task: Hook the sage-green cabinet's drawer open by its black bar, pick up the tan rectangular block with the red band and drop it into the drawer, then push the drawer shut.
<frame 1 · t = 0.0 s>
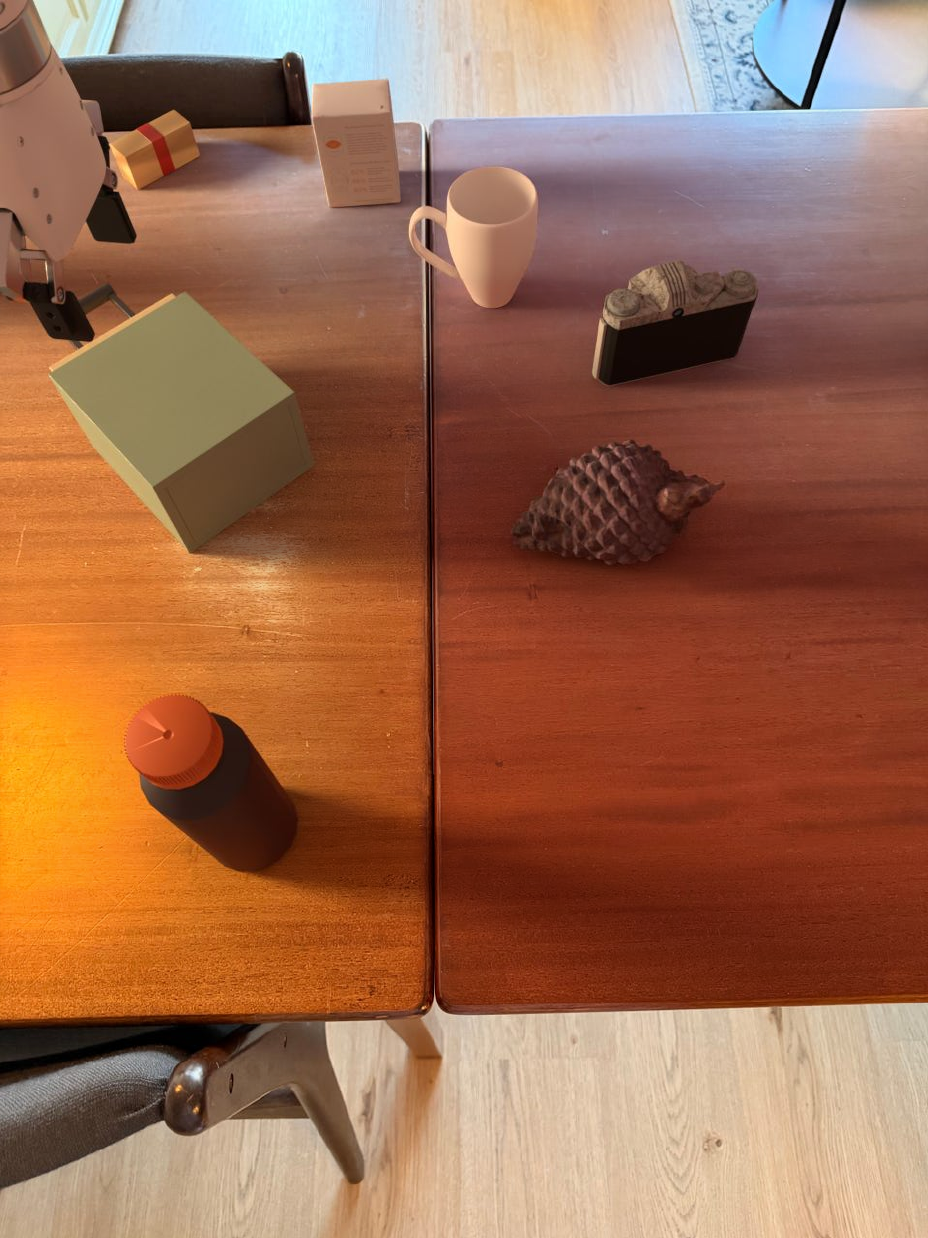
hand: (95, 286, 65), 20 cm above the table, tool pointing down, fingers open, 9 cm apart
tan rectangular block: (161, 165, 102), on the table
cabinet: (203, 456, 83), on the table
bottle: (253, 828, 67), on the table
pine cone: (606, 533, 78), on the table
drawer: (150, 383, 81), point 5 cm above the table, slide at 0.5 cm
camera: (659, 350, 88), on the table
small box: (364, 191, 100), on the table
mug: (473, 294, 92), on the table
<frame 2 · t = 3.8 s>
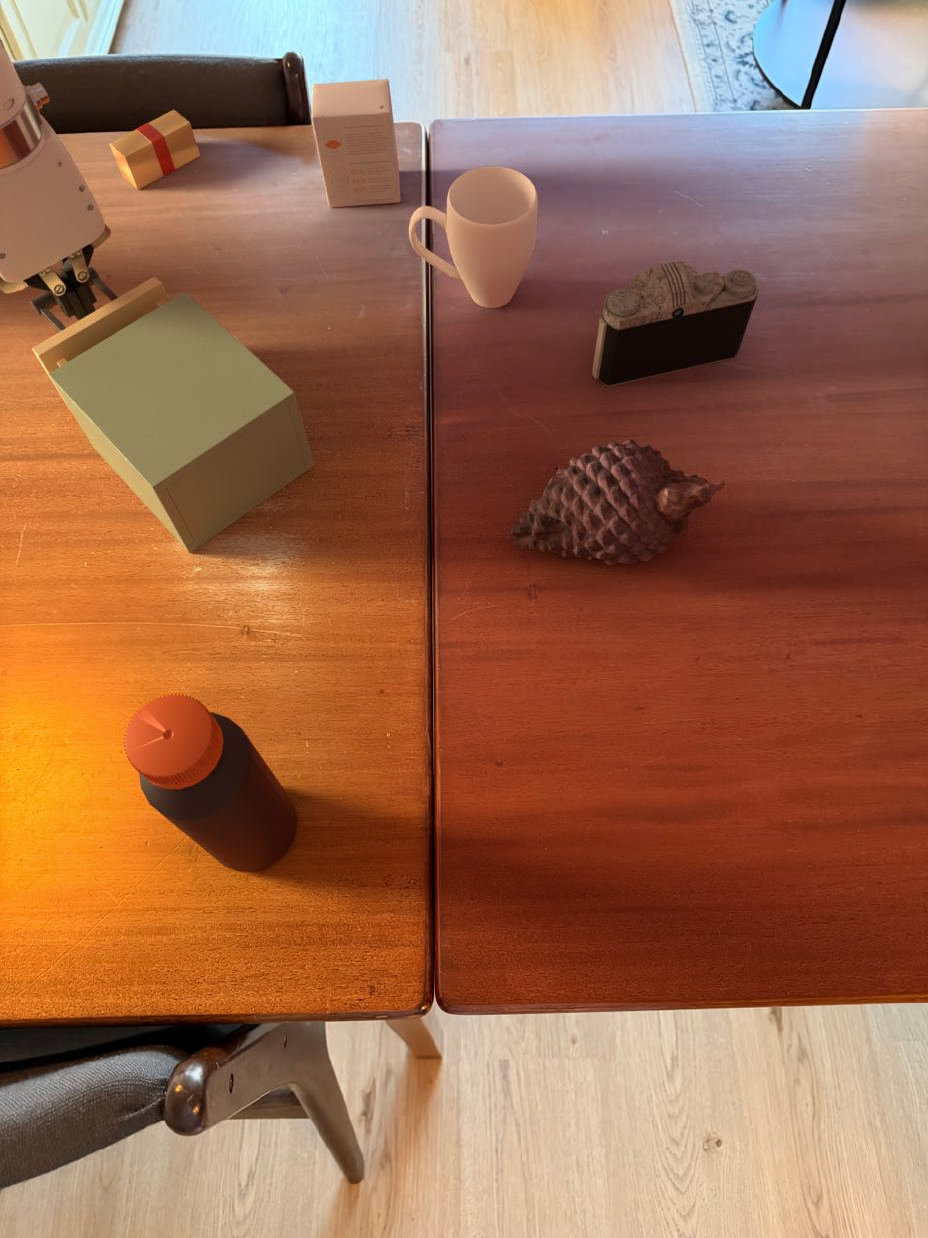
hand: (83, 313, 84), 6 cm above the table, tool pointing down, fingers closed
drawer: (132, 366, 82), point 5 cm above the table, slide at 3.4 cm, touching gripper
everything else where it was.
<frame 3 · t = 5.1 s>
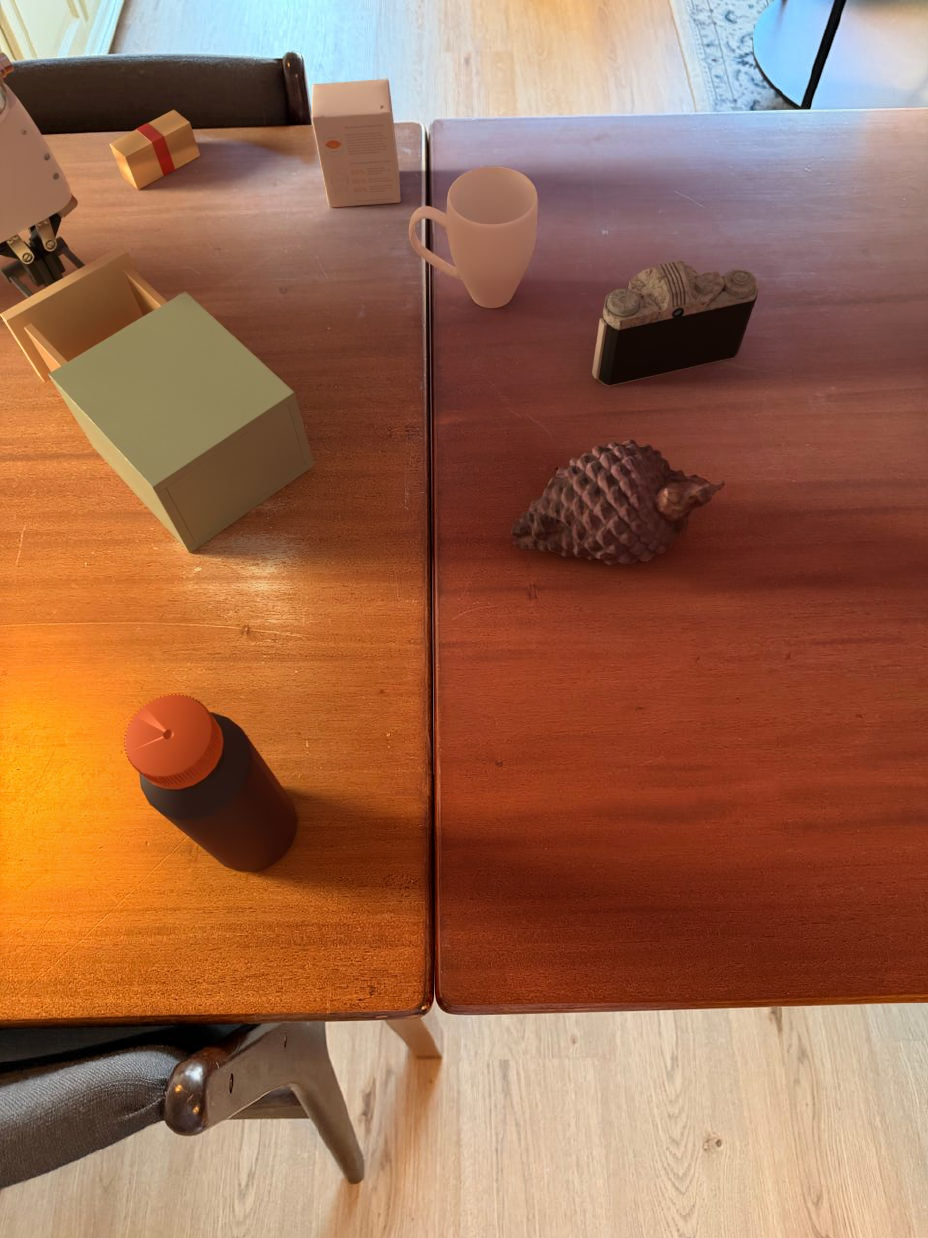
hand: (53, 283, 86), 6 cm above the table, tool pointing down, fingers closed
drawer: (99, 332, 84), point 5 cm above the table, slide at 9.0 cm, touching gripper
everything else where it was.
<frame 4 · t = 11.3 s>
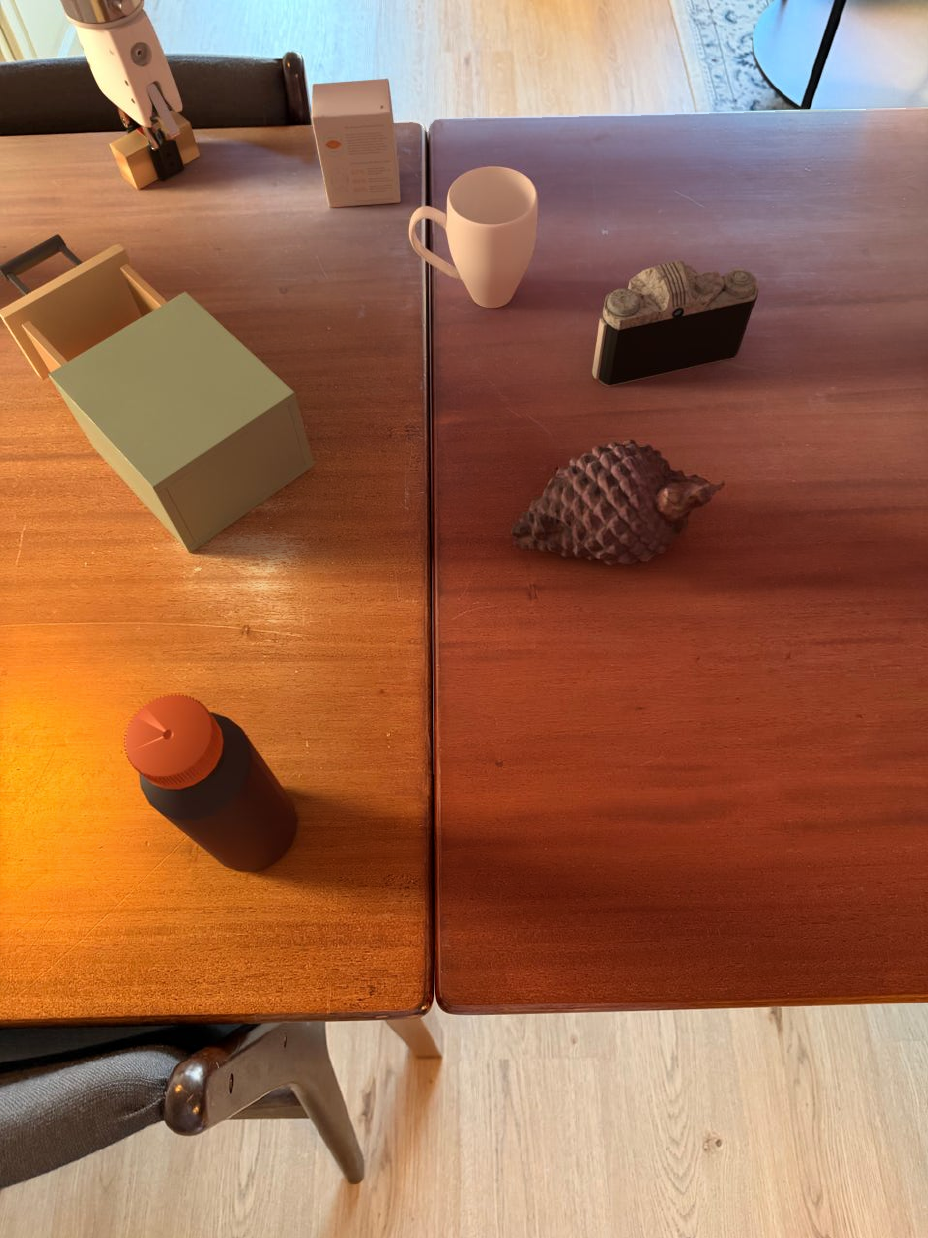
hand: (161, 164, 102), 0 cm above the table, tool pointing down, fingers closed on tan rectangular block, 3 cm apart
tan rectangular block: (161, 165, 102), on the table, touching gripper
drawer: (97, 330, 84), point 5 cm above the table, slide at 9.4 cm
everything else where it was.
when the fingers open (8 cm above the table, at t = 17.8 s): tan rectangular block drops 6 cm, resting on drawer.
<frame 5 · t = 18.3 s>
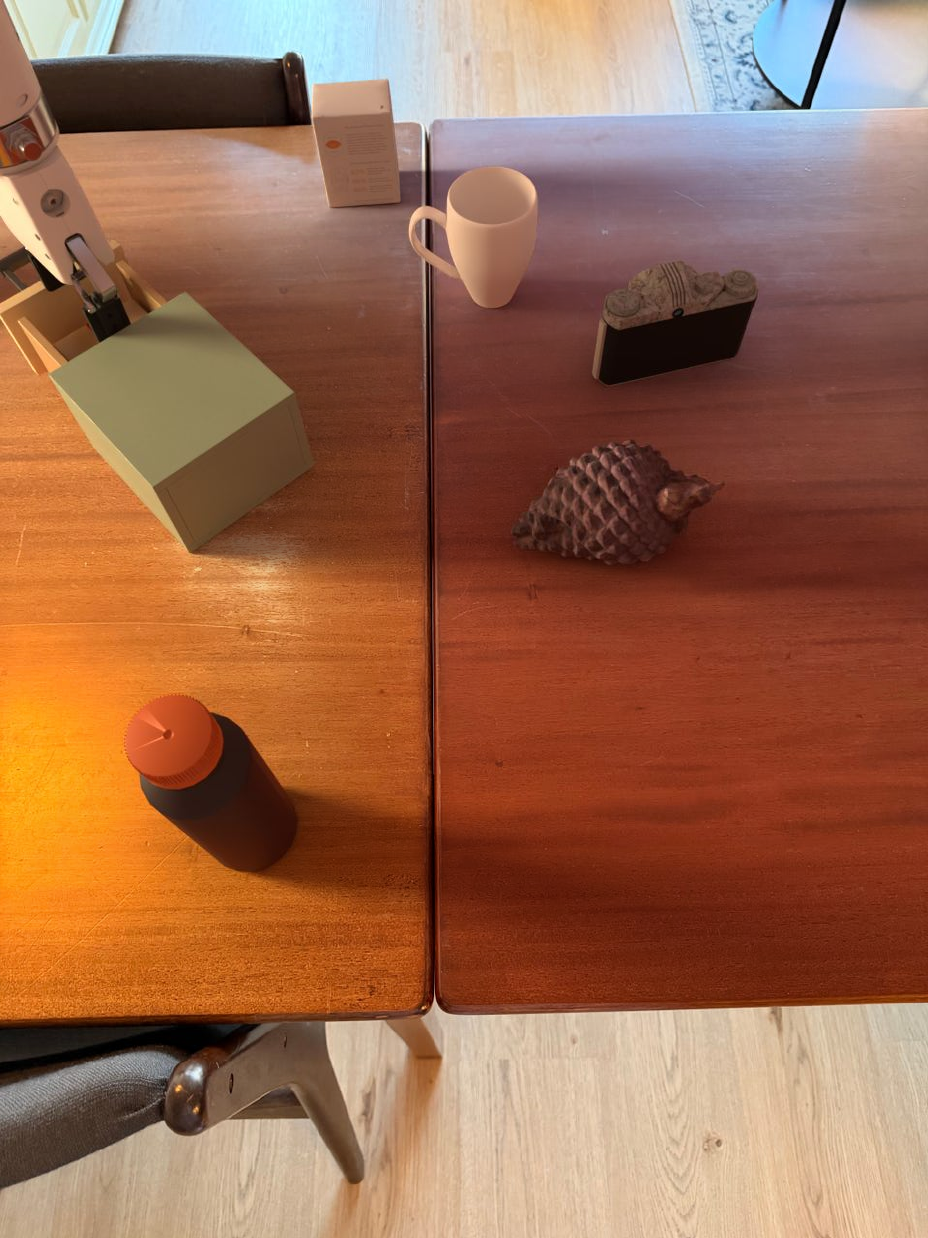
hand: (88, 307, 80), 9 cm above the table, tool pointing down, fingers open, 8 cm apart
tan rectangular block: (118, 360, 86), point 2 cm above the table, touching drawer
drawer: (93, 326, 84), point 5 cm above the table, slide at 10.1 cm, touching tan rectangular block, gripper
everything else where it was.
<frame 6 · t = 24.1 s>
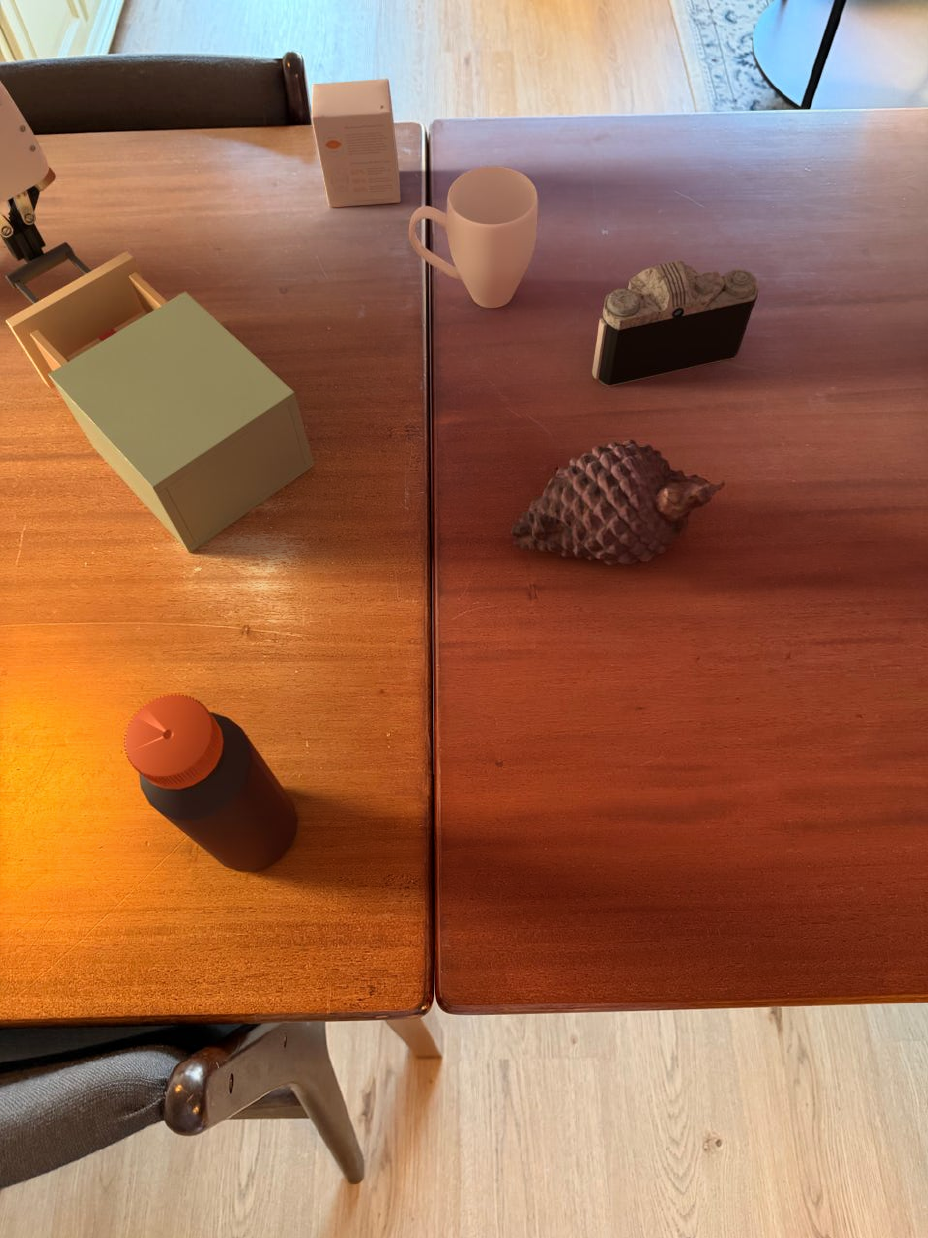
hand: (33, 257, 87), 6 cm above the table, tool pointing down, fingers closed
tan rectangular block: (130, 373, 85), point 2 cm above the table, touching drawer
drawer: (105, 338, 83), point 5 cm above the table, slide at 7.9 cm, touching tan rectangular block
everything else where it was.
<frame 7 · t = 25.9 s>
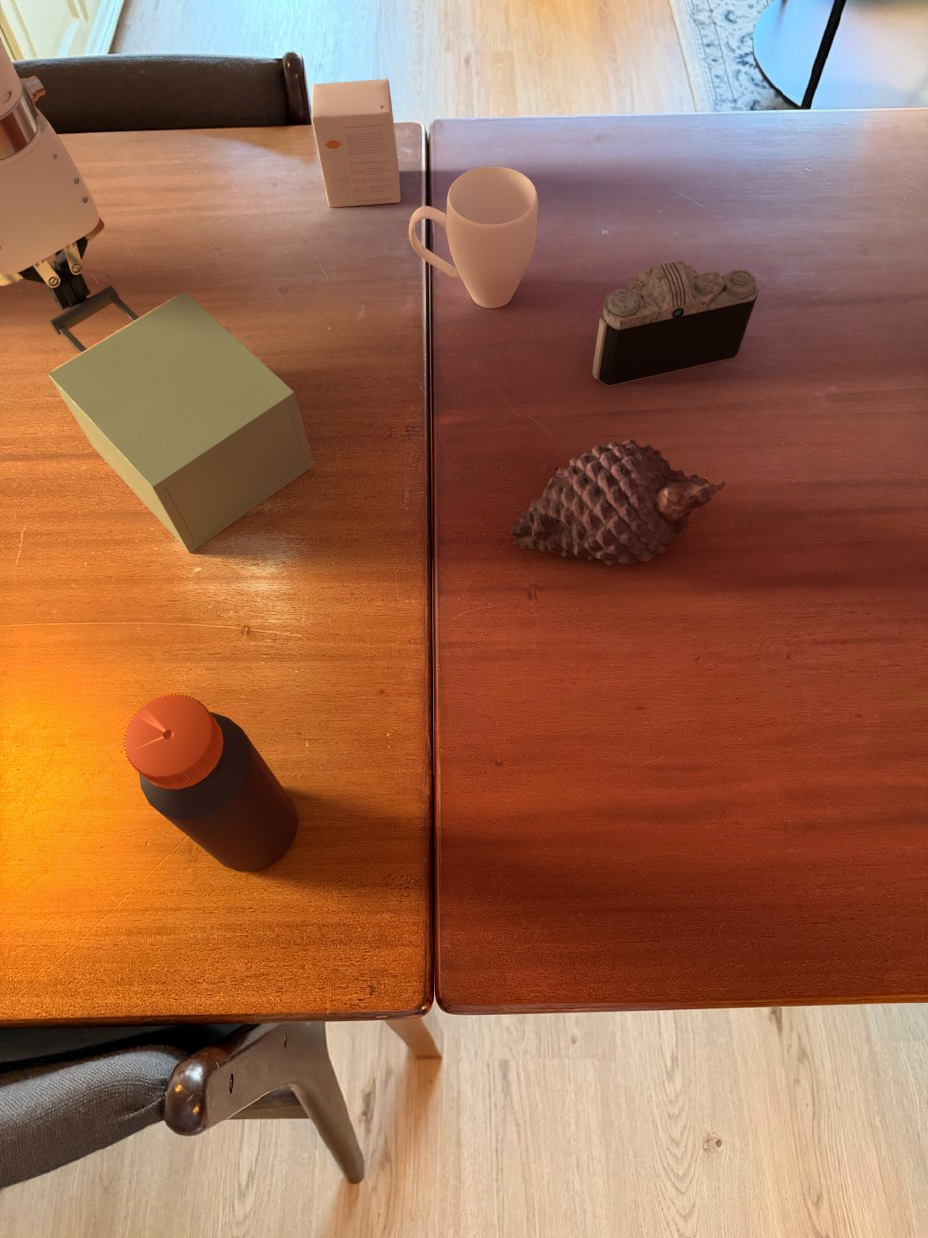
hand: (77, 305, 84), 6 cm above the table, tool pointing down, fingers closed
tan rectangular block: (178, 422, 82), point 2 cm above the table, touching drawer
drawer: (153, 386, 81), point 5 cm above the table, slide at 0.0 cm, touching cabinet, tan rectangular block, gripper
everything else where it was.
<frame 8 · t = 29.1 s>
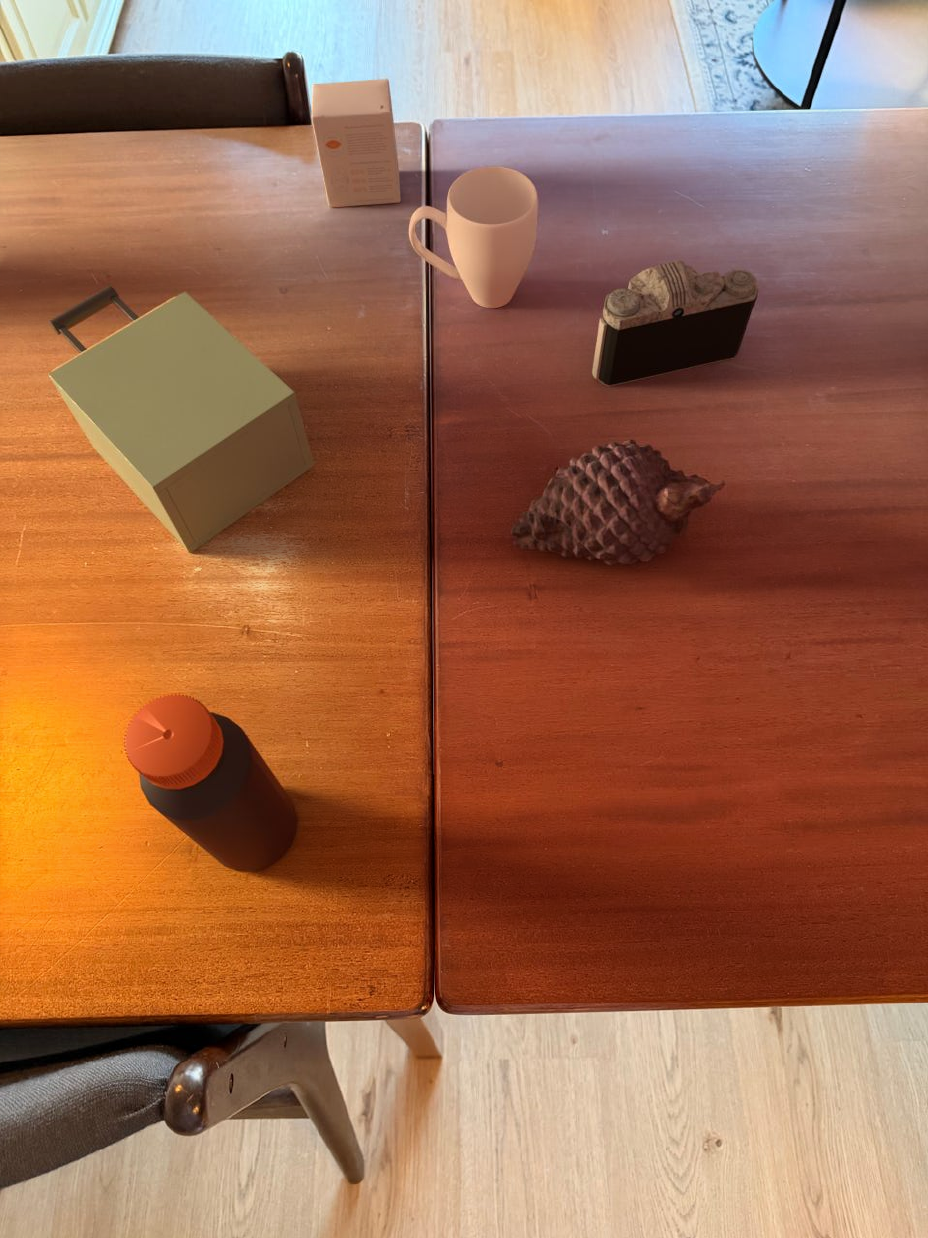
drawer: (153, 386, 81), point 5 cm above the table, slide at 0.0 cm, touching cabinet, tan rectangular block
everything else where it was.
at the end: drawer pulled out 10.1 cm at the most during the clip, back to where it started at the end; tan rectangular block inside the target area in the cabinet (3.0 cm from its centre), point 2.1 cm above the cabinet's base; drawer slide at 0.0 cm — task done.
